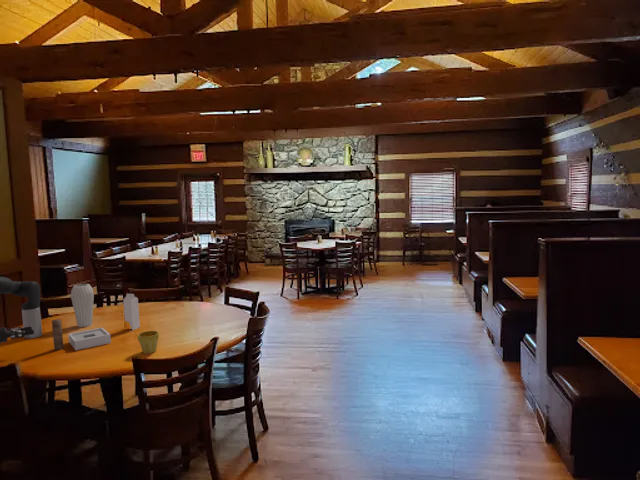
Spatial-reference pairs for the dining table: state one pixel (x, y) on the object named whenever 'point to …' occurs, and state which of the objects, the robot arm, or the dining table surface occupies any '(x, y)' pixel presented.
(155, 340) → the plant pot
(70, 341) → the tray
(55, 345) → the peg
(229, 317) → the dining table surface
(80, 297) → the vase
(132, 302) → the milk
